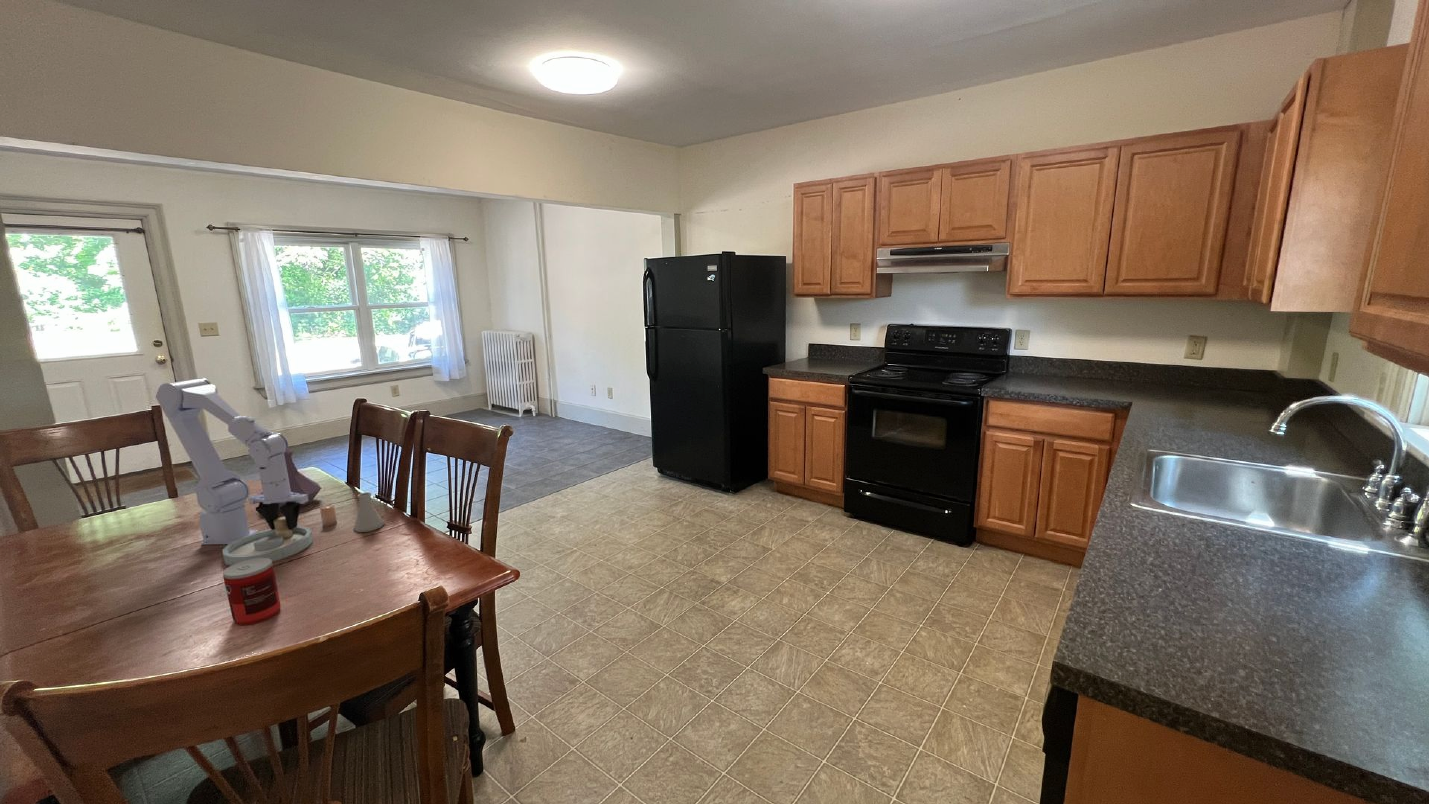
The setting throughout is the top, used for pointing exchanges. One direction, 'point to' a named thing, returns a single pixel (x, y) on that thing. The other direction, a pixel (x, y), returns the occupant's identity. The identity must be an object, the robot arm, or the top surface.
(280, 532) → the tan rounded cylinder
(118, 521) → the top surface
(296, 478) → the flask
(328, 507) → the peach rounded cylinder
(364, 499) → the flask
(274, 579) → the canned food
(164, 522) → the top surface
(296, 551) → the groove tray
